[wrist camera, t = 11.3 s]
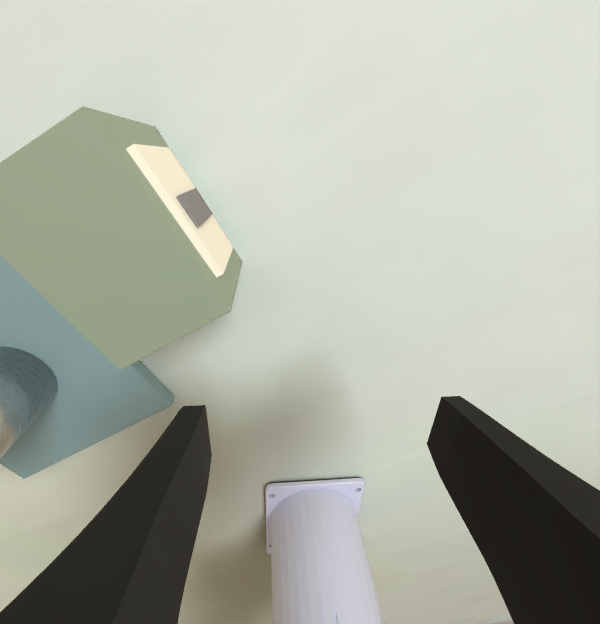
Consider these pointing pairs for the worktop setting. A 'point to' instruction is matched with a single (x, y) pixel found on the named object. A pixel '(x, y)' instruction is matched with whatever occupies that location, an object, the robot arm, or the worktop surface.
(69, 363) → the parts mat
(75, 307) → the block
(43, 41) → the worktop surface
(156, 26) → the worktop surface
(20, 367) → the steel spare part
